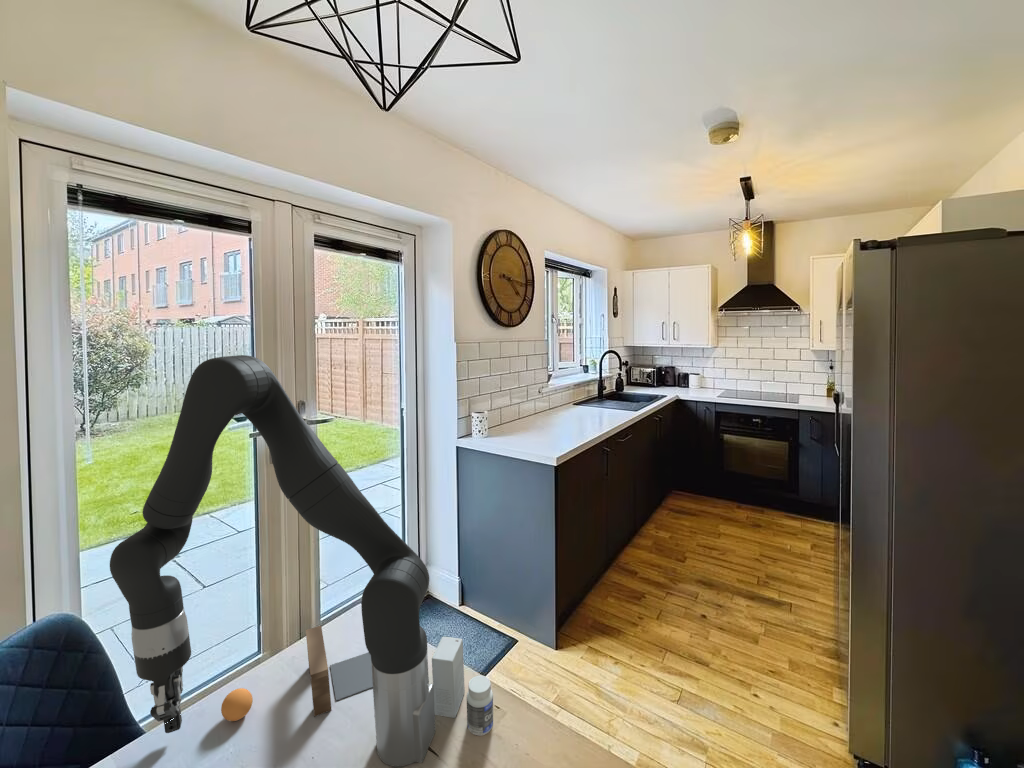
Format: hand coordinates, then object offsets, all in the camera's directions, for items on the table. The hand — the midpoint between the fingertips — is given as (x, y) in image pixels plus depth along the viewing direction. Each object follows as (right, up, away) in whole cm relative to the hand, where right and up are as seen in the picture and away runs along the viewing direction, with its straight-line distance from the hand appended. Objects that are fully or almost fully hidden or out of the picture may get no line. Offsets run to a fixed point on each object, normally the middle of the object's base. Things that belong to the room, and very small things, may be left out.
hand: (173, 728), depth 81 cm
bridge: (+21, 0, +11) cm, 24 cm away
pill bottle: (+54, -1, +2) cm, 54 cm away
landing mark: (+28, +1, +14) cm, 31 cm away
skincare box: (+48, -1, +7) cm, 48 cm away
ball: (+9, +1, +4) cm, 10 cm away
